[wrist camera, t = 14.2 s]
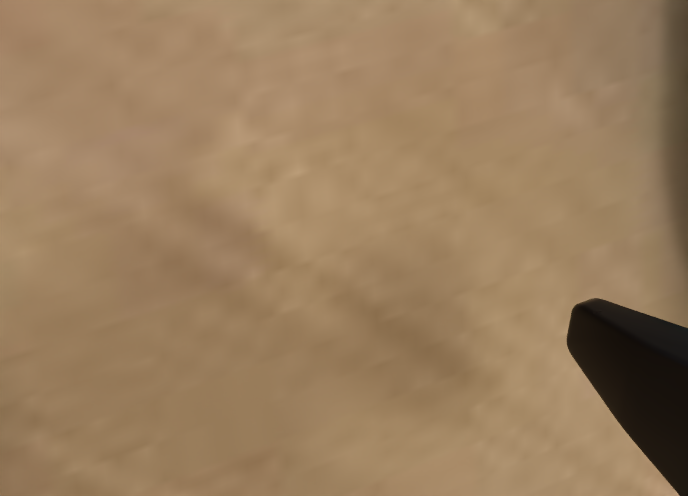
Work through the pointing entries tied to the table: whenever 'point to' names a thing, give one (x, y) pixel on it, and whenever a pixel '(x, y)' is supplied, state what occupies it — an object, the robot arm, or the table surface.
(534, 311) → the table surface
